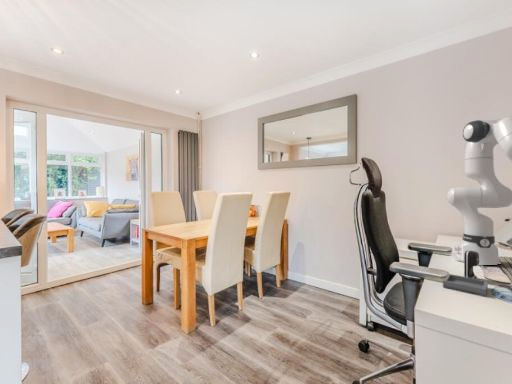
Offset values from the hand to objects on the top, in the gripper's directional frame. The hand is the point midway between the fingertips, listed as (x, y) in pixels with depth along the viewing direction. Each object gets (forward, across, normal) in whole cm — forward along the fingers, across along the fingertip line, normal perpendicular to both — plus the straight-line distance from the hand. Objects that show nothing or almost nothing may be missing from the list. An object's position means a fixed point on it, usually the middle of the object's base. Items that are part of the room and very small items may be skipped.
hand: (511, 245), depth 95 cm
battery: (+19, 0, +3) cm, 19 cm away
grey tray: (+21, +13, 0) cm, 25 cm away
